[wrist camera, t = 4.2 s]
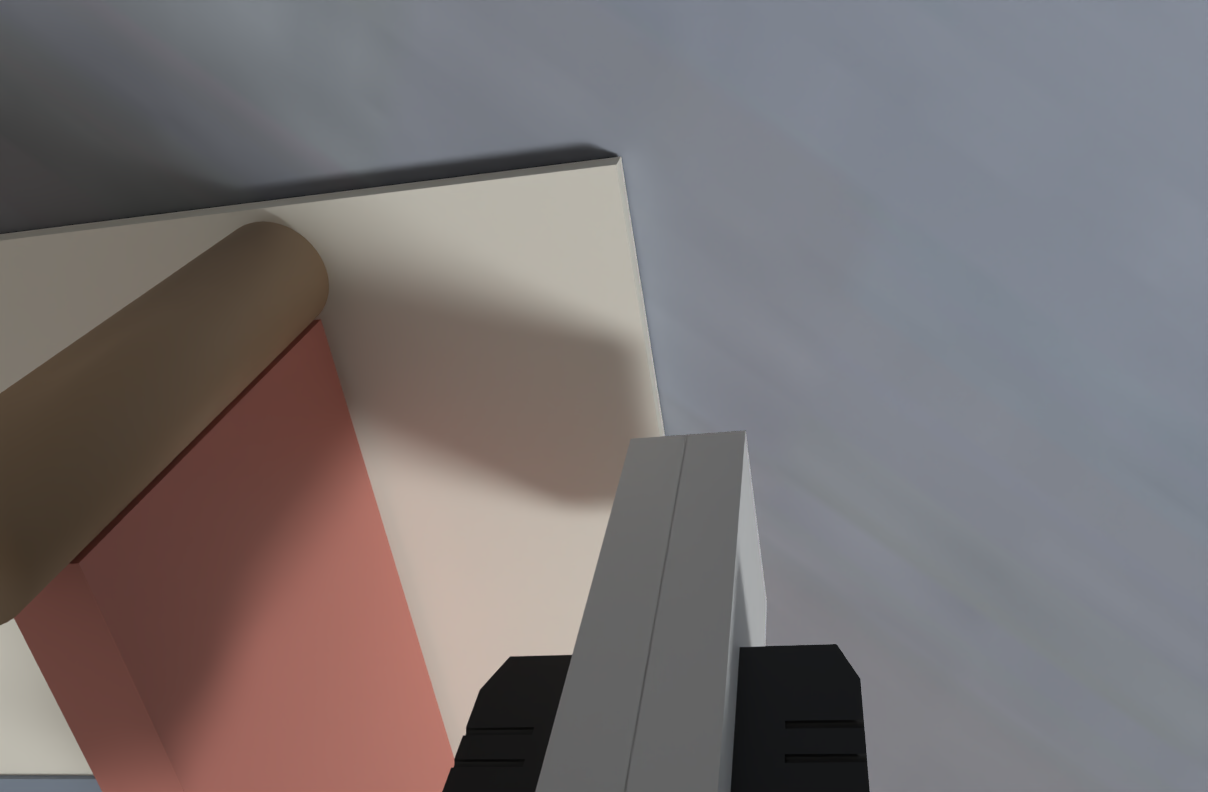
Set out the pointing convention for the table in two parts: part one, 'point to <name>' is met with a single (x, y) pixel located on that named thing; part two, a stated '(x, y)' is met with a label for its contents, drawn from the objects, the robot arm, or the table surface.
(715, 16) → the table surface
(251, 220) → the board
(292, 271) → the fence gate
